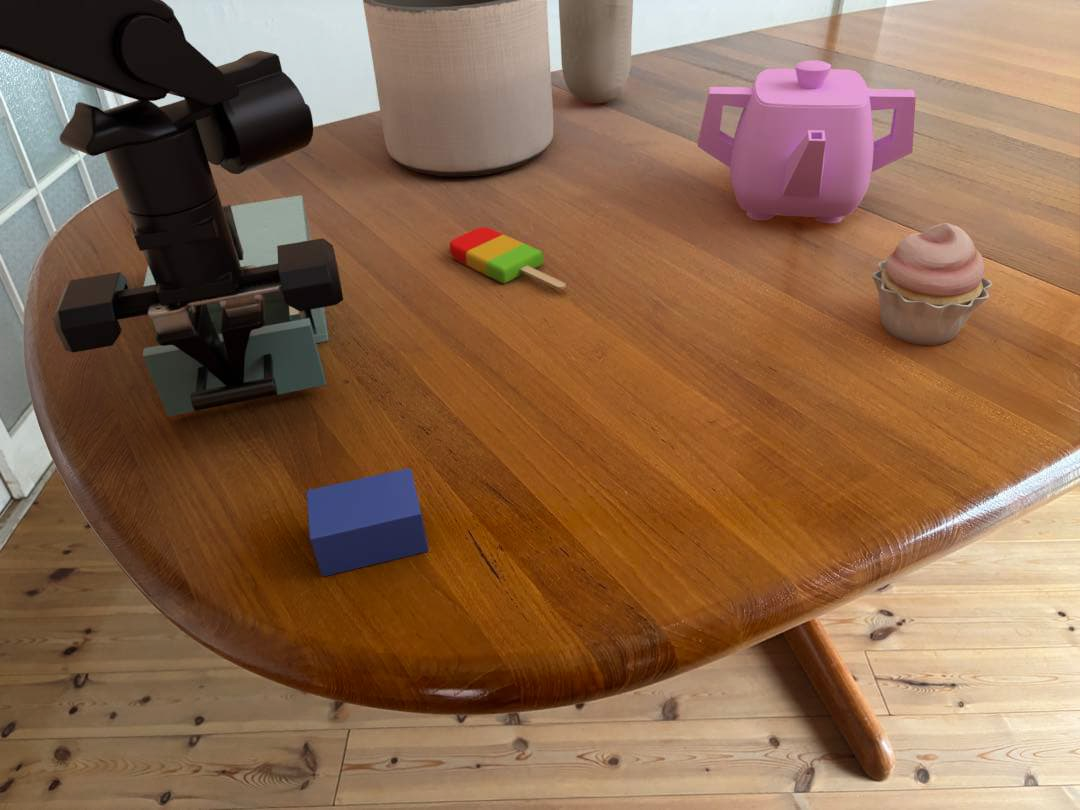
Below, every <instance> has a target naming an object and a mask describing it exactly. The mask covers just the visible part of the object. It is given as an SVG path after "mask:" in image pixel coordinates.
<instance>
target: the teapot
mask: <svg viewBox="0 0 1080 810" xmlns="http://www.w3.org/2000/svg"><path fill="white" fill-rule="evenodd" d="M916 100H917V97H916V93H915V90H914V89H897V88H896V89H894V88H893V89H889V88H887V89H883V88H881V89H879V88H869V87H868V85H867V83H866V81H865V80H864V78H863V77H862V76H861V74H860V73H858V72H857V71H854V70H853V69H843V68H841V69H840V68H832V64H830V63H828V62H826V61H823V60H816V59H811V60H810V59H809V60H802V61H799V62H796V64H795V68H792V67H791V68H766V69H764V70H762V71H761V72H760V73H759V74H758V75H757V76H756V77H755V80H754V83H753V84H752V87H749V86H709V90H708V93H707V97H706V103H705V107H704V111H703V115H702V120H701V123H700V124H701V125H700V129H699V133H698V138H697V148H698V149H700V150H702V151H703V152H705V153H706V154H708V155H710V156H711V157H712V158H714V159H715V160H717V161H718V162H720V163H721V164H723V165H724V166H726V167H728V172H729V179H730V182H731V186H732V189H733V193H734V196H735V198H736V201H737V203H738V205H739V206H740V208H741V209H742V210H744V211H745V212H746V216H747V217H748V218H750V219H752V220H759V221H763V220H764V221H766V220H770V219H772V218H774V216H787V217H788V216H789V217H792V216H793V217H808V218H809V217H812V218H813V217H814V219H815V220H816V221H818V222H820V223H824V224H836V223H840V222H841V221H842V220H843V217H847V216H850V215H852V214H853V213H854V212H855V210H856V209H857V208H858V207H859V206H860V204H861V203H862V201H863V199H864V197H865V195H866V193H867V191H868V189H869V187H870V182H871V177H872V173H874V172H875V171H877V170H880V169H882V168H884V167H886V166H888V165H890V164H892V163H894V162H896V161H898V160H900V159H902V158H904V157H906V156H909V155H910V154H913V147H914V134H915V133H914V132H915V131H914V130H915V117H916ZM724 106H727V107H734V108H743V109H742V111H741V114H740V117H739V119H738V122H737V126H736V129H735V132H734V136H733V137H732V136H731V135H729V134H727V133H725V132H724V131H722V130H721V125H722V124H721V123H722V117H723V109H724ZM883 110H893V113H892V118H891V119H892V120H891V126H890V132H889V134H887V135H885V136H883V137H881V138H878V139H876V140H875V133H874V120H873V119H874V118H873V111H883Z"/></svg>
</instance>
